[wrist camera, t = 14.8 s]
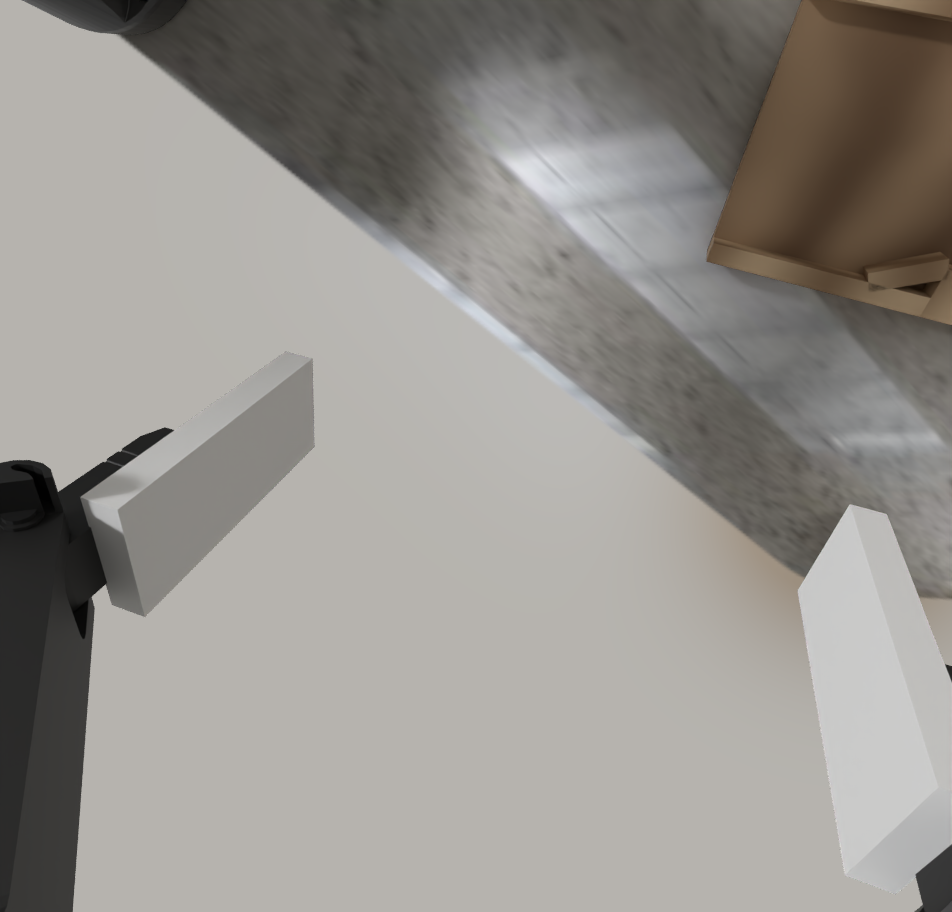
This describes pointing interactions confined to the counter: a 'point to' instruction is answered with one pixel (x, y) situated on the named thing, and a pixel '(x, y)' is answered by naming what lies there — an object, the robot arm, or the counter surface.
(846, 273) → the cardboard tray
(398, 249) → the counter surface
